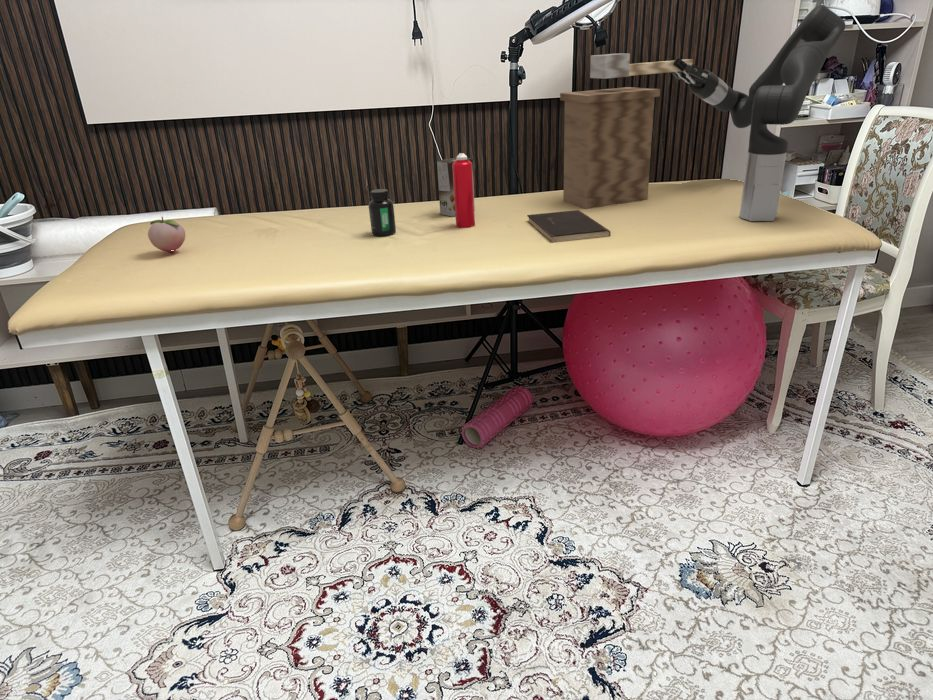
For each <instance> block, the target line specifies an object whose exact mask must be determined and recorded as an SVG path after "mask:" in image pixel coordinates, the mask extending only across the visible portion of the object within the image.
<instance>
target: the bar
mask: <svg viewBox="0 0 933 700" xmlns="http://www.w3.org/2000/svg"><path fill="white" fill-rule="evenodd" d="M630 60H631V53H607V54H595V55H593V54H591V55H590V71H589V72H590V73H589V75H590V76H589V78H590V79H616V78H628V77H632V76H643V75H652V74H653V75H655V74H665V73H671V72H678V71H681V70H680V69H678V68H677V67H676V66H674V61H675V59H673V61H667V60H665V61H664V60H662V61H650V62H638V63H630V62H631V61H630ZM681 60H682V61H684V62H685V63H689V64H690V65H692V64H694V63H693V62H694V59H693V58H692V59H691V58H686V59H681Z"/></svg>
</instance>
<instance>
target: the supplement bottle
mask: <svg viewBox="0 0 933 700" xmlns="http://www.w3.org/2000/svg"><path fill="white" fill-rule="evenodd" d="M389 197H390V195H389V190H388V189H387V188H386V189H385V188H377V189H372V190H371V191H370V199H371V200H370V202H369V203H368V213H369V222H370V228H371V229H370V231H371V234H372V235H373V236H375V237H381V238H382V237H389V236H393V235H394V234H396V232H397V226H396V218H395V217H396V216H395V208H394V203H393V200H391V199H390V198H389Z"/></svg>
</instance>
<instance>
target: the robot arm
mask: <svg viewBox="0 0 933 700" xmlns="http://www.w3.org/2000/svg"><path fill="white" fill-rule="evenodd" d="M845 29H846V22H845V20H844V19H843V18H841V16H839V15H837V14H836V13H835V12H834V11H833V10H831V9H830V8H828V7H827V6H826V5H824V4H817V6H814V8H812V9H811V10H810V11H809V13H808V14H806V16H805V17H804V18H803V19H802V20H801V22H800V24H798V26H797V27H796V28H795V29H794V31H793V32H792V34H790V37H789V38H788V39H787V40H786V42H785V43H784V44H783V46H782V47H780V50H779V51H778V52H777V54H776V55H775V57H774V58H773V59H772V60H771V62H770V64H769V65H768V66H767V68H765V70H764V71H763V72H762V73H761V74H760V75H759V76H758V77H757V79H756V80H755V81H754V82H753V83H752V84H751V85H750V87H749V89H748V94H746V93H744V92H741V91H737V90H735V89H733V88H732V87H731V86H729V85H728V84H727V83H726V82H725V81H724V80H723V79H721V78H720V77H719V76H717V75H716V74H715V73H713V72H712V71H710V70H709V69H703V68H701V67H699V66H698V65H695V64H694V63H693V64H692V65H690V64H689V63H685V62H684V61H682V60H683V59H682V58H679V57H676V58H675V59H673V57H668V58H667V60H666V61H673V60H675V61H674V66H676V67H677V68H678V69H680V70H681V71H678V72H670V73H671V74H672V75H673V77H674V78H675V79H676V80H678V81H680V80H683V81H684V82H685V83H687V84H689V85H690V87H689V89H690V92H691V93H692V94H694V95H695V96H697V97H698V98H699V99H700V100H702V101H704V102H705V103H707V104H710V105H711V106H712V107H713V108H715V109H716V110H718V111H720V112H723V113H724V112H725V113H727V112H730V116H731V121H732V124H733V125H734V127H735V128H737V129H745V128H747V127H749V126H750V132H749V137H748V149H747V157H746V164H745V171H744V178H743V185H742V194H741V199H740V200H741V202H740V211H739V218H741V219H742V220H746V221H749V222H774V221H775V220H776V219H777V217H778V216H777V214H778V209H779V202H780V196H781V190H782V183H783V177H784V171H785V166H786V160H787V153H788V148H789V147H788V146H789V143H788V140H786V139H785V138H783V137H780V136H778V135H776V134H775V133H773V132H771V131H770V130H769V129H768V125H781V126H782V125H789V124H793V122H794V121H796V119H797V117H798V116H799V114H800V112H801V110H802V107H803V105H804V102H805V99H806V98H807V95H808V92H809V91H810V89H811V87H812V84H813V83H814V81H815V80H816V78H817V77H818V76H819V73H820V71H821V70H822V69H823V68H822V67H823V66H824V65H825V64H824V63H825V61H826V59H827V58H828V55H829V54H830V52H831V51H832V50H833V48H834V47H835V45H836V44H837V43H838V41H839V40H840V39H841V37H842V36H843V34H844V32H845ZM801 40H803V41H804V42H802V43H801V44H799V43H800V42H801Z"/></svg>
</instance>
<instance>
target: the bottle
mask: <svg viewBox="0 0 933 700" xmlns="http://www.w3.org/2000/svg"><path fill="white" fill-rule="evenodd" d="M455 158H456V159H457V160H456V161H455V162H454V163H453V165H452V168H453V184H454V200H455V216H454V217H455V226H456V227H457V228H462V229H463V228H467V229H468V228H471V227H472V228H473V227H475V225H476V219H475V218H476V215H475V211H474V206H475V193H474V194H473V181H474V172H473V173H472V163H471V162H470V161H469V160H467V158H468V155H466V154H465V153H464V152H459V153H458V155H456V156H455Z"/></svg>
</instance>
